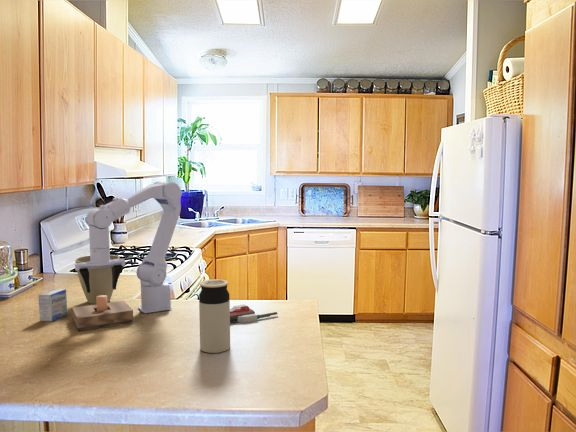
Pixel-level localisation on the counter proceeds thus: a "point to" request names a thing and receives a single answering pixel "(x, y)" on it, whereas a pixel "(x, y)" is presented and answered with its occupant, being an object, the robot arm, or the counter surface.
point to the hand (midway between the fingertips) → (101, 290)
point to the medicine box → (52, 305)
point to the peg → (101, 303)
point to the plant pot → (97, 280)
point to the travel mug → (214, 316)
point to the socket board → (102, 316)
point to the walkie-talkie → (245, 314)
